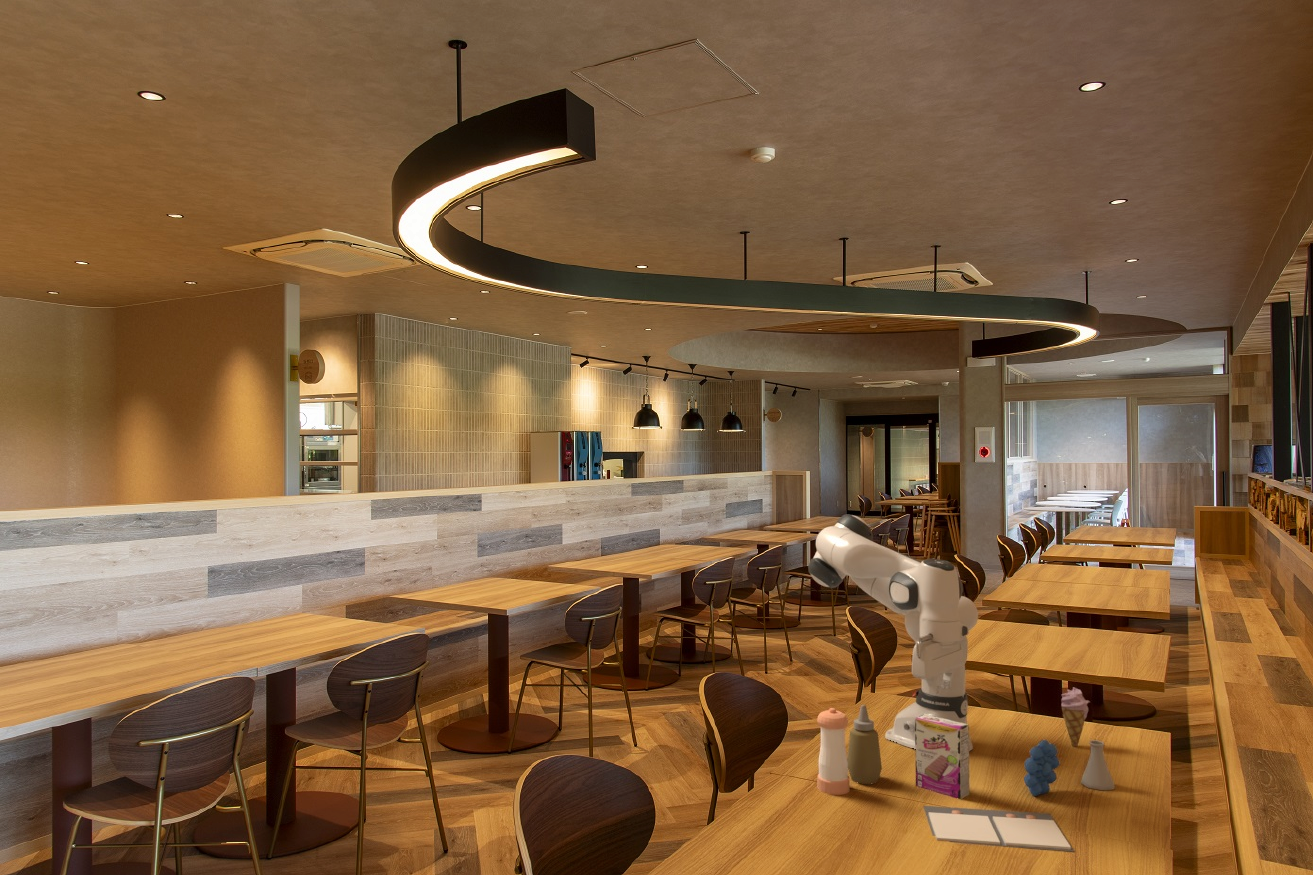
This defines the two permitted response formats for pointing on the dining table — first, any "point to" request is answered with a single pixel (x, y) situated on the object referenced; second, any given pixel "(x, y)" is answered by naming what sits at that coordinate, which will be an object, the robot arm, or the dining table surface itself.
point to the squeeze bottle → (864, 750)
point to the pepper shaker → (833, 753)
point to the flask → (1097, 769)
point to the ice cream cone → (1074, 713)
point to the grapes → (1041, 768)
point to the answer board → (996, 828)
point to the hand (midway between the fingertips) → (940, 690)
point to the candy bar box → (942, 755)
